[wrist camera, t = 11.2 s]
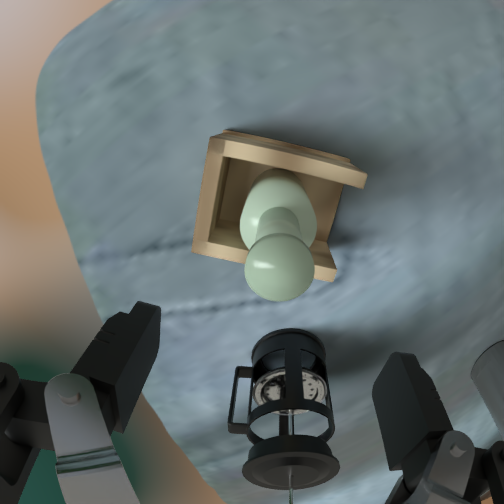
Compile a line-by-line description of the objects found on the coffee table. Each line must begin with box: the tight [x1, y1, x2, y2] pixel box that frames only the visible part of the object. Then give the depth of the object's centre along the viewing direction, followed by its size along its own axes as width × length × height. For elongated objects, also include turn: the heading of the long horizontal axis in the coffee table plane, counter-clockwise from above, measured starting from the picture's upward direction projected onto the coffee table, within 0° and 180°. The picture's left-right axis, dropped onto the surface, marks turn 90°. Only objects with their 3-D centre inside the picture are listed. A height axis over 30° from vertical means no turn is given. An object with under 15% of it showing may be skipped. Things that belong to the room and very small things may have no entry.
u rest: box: [191, 130, 368, 282], centre depth 27 cm, size 12×10×7 cm
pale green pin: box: [240, 168, 317, 301], centre depth 22 cm, size 5×5×16 cm
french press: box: [228, 329, 340, 504], centre depth 28 cm, size 12×9×23 cm
